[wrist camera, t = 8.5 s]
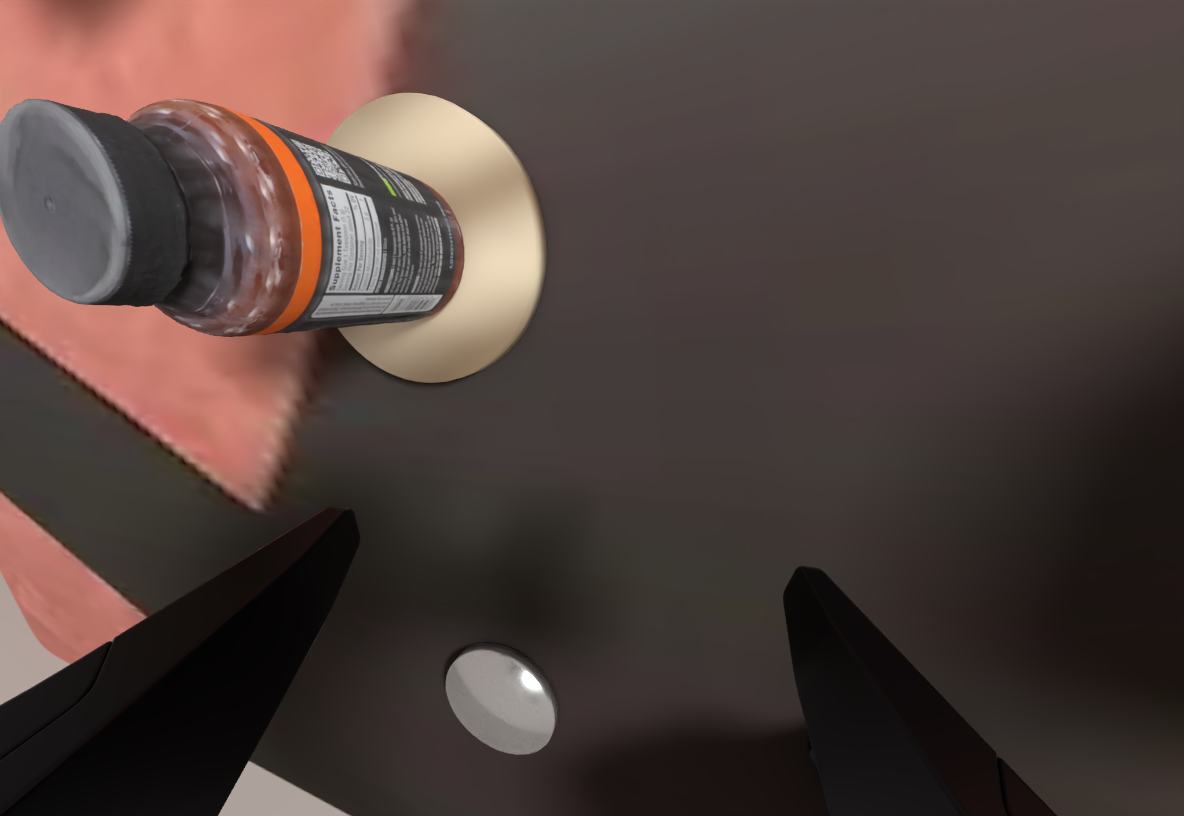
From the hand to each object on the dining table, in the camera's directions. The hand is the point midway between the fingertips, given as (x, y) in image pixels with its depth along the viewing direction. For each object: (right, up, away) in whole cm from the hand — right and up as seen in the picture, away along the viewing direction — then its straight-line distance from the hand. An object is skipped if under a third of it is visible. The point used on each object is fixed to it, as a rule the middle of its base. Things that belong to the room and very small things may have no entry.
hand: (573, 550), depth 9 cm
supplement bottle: (-7, +10, +11) cm, 16 cm away
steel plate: (-5, -14, +18) cm, 23 cm away
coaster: (-7, +10, +12) cm, 17 cm away
